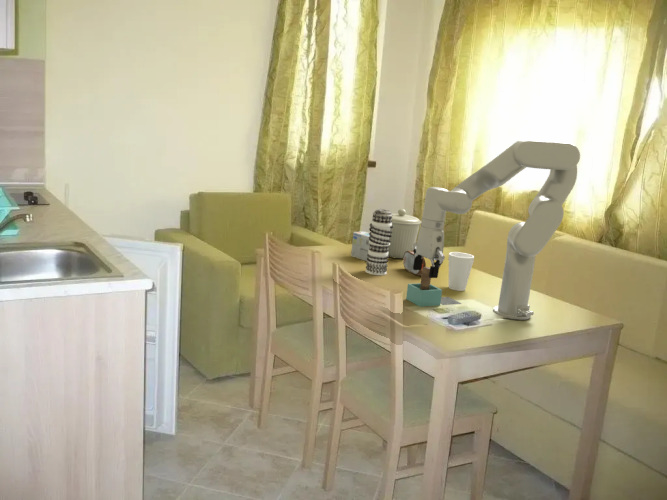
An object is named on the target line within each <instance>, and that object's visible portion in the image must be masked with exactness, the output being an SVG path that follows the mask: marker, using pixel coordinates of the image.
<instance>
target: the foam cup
mask: <svg viewBox="0 0 667 500" xmlns="http://www.w3.org/2000/svg"><path fill="white" fill-rule="evenodd" d="M447 260H448V288H449V289H450V290H453V291H459V292H462V291H463V292H464V291H466V289H467V285H468V281H469V278H470V275H471V270H472V267H473V264H474V260H475V255H473V254H470V253H468V252H467V253H466V252H459V251H451V252H449V253H448V259H447Z"/></svg>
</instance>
